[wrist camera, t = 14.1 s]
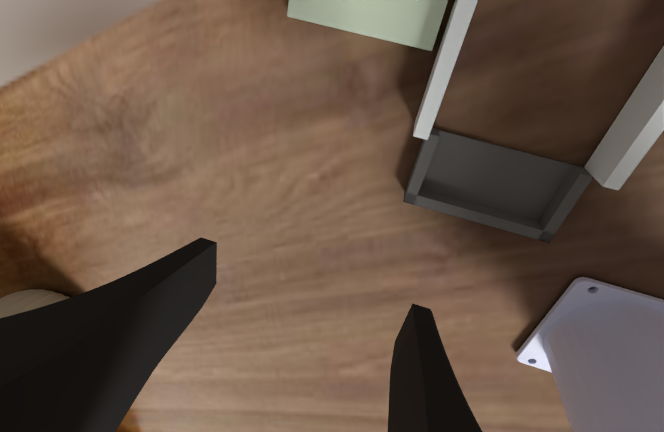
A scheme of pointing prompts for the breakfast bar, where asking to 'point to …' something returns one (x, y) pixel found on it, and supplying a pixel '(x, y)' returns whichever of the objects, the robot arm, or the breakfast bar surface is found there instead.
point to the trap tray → (494, 184)
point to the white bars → (618, 143)
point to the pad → (377, 18)
